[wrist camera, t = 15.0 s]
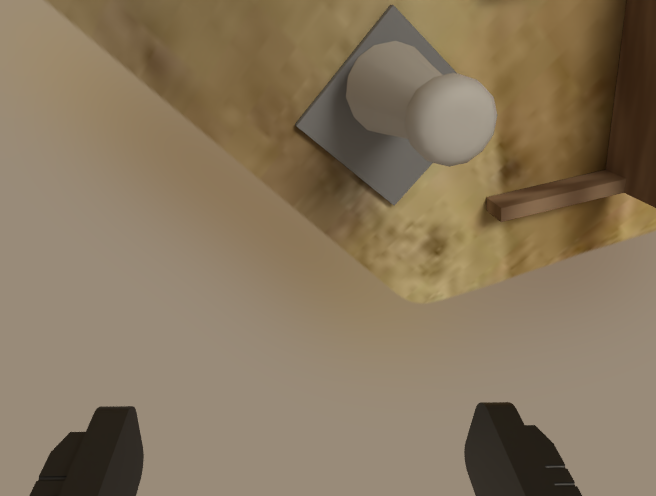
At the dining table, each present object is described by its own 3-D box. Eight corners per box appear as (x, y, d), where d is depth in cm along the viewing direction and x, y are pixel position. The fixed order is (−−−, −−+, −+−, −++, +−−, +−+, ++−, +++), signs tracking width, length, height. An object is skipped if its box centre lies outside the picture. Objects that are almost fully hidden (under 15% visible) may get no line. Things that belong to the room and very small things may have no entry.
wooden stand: (486, 210, 41) (550, 260, 34) (487, -42, 33) (573, -53, 25) (616, 179, 43) (707, 221, 35) (651, -71, 34) (782, -91, 26)
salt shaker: (366, 141, 36) (436, 209, 25) (321, 74, 33) (377, 116, 22) (433, 91, 35) (537, 137, 24) (393, 19, 33) (489, 32, 21)
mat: (295, 124, 35) (296, 125, 34) (390, 4, 33) (393, 5, 32) (391, 202, 39) (394, 205, 39) (481, 102, 37) (485, 104, 37)
